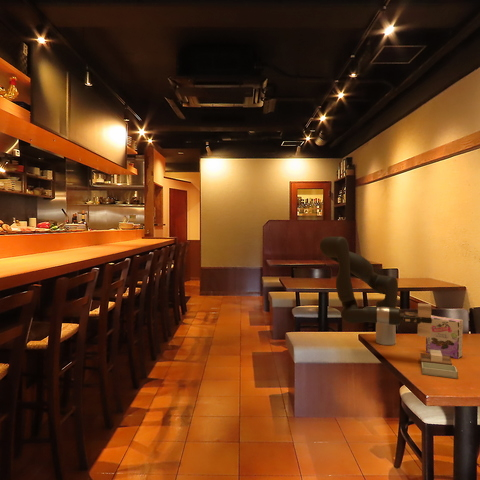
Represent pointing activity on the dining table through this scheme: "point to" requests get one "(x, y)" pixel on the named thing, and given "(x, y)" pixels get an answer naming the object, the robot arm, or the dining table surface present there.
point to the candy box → (446, 336)
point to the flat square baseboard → (427, 359)
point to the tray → (439, 370)
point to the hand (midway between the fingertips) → (431, 319)
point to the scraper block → (424, 328)
